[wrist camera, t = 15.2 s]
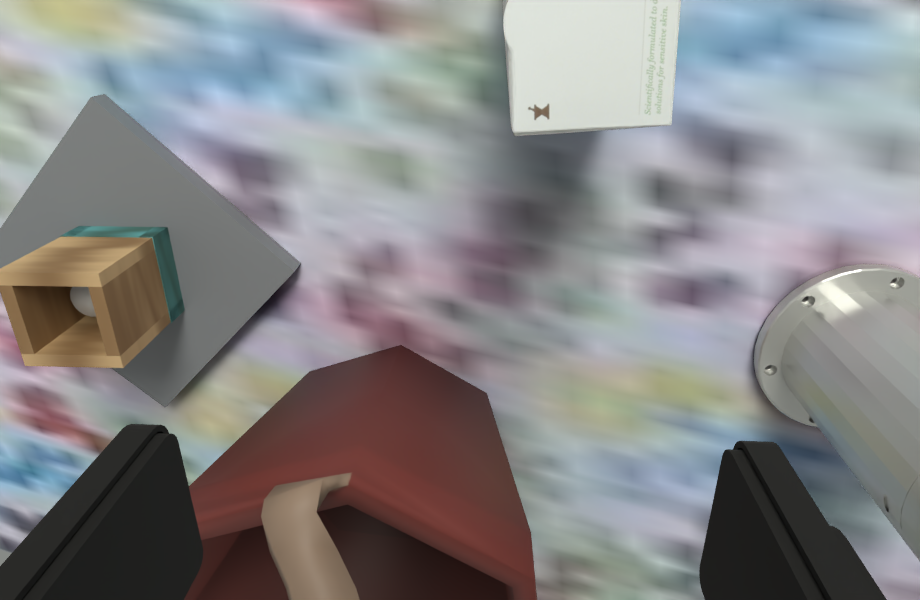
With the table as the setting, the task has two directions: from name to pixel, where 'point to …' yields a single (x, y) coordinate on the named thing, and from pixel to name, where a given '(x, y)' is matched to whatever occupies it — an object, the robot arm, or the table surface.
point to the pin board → (152, 205)
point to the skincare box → (590, 64)
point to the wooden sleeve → (92, 296)
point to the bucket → (366, 494)
